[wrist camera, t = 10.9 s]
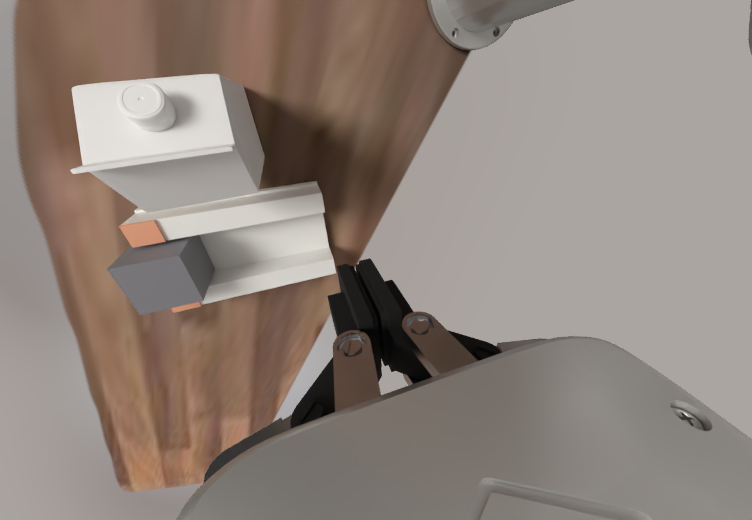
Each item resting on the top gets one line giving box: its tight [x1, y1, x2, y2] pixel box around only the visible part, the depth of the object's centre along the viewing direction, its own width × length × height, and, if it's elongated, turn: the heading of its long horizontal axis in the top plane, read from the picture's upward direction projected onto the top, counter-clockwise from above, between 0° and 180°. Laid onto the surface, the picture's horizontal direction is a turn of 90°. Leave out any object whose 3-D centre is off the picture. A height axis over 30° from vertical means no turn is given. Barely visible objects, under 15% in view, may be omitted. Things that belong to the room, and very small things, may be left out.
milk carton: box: [70, 74, 265, 213], centre depth 21 cm, size 7×7×19 cm
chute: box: [119, 181, 336, 312], centre depth 33 cm, size 20×12×5 cm, turn 97°
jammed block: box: [107, 235, 215, 315], centre depth 30 cm, size 6×6×7 cm
